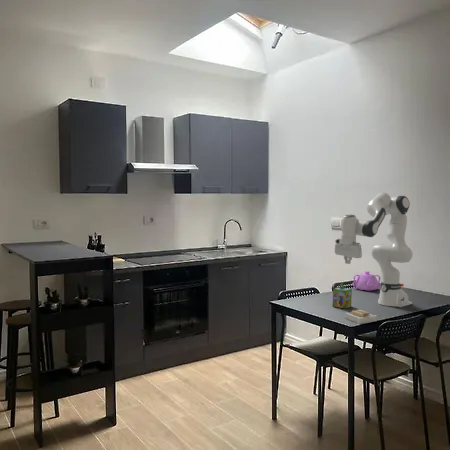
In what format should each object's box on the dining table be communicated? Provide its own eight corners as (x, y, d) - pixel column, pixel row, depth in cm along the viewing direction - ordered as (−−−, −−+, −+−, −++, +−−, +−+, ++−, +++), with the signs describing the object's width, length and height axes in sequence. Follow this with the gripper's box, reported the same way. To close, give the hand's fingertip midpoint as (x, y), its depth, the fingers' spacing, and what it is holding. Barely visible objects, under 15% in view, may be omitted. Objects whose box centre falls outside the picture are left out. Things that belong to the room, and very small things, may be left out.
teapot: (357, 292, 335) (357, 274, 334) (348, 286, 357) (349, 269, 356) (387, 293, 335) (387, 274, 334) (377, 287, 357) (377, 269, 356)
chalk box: (345, 309, 287) (346, 285, 286) (331, 306, 293) (332, 283, 292) (351, 306, 294) (352, 283, 293) (338, 304, 300) (339, 281, 299)
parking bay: (361, 315, 271) (361, 310, 271) (376, 320, 261) (376, 315, 261) (344, 318, 265) (344, 313, 265) (359, 323, 254) (359, 318, 254)
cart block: (359, 318, 267) (359, 309, 267) (369, 321, 260) (369, 312, 260) (351, 319, 265) (351, 310, 264) (361, 322, 258) (361, 314, 257)
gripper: (364, 242, 274) (364, 265, 275) (340, 239, 292) (340, 261, 293) (357, 243, 271) (356, 266, 272) (333, 239, 289) (332, 261, 290)
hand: (347, 263), depth 282 cm, fingers closed
